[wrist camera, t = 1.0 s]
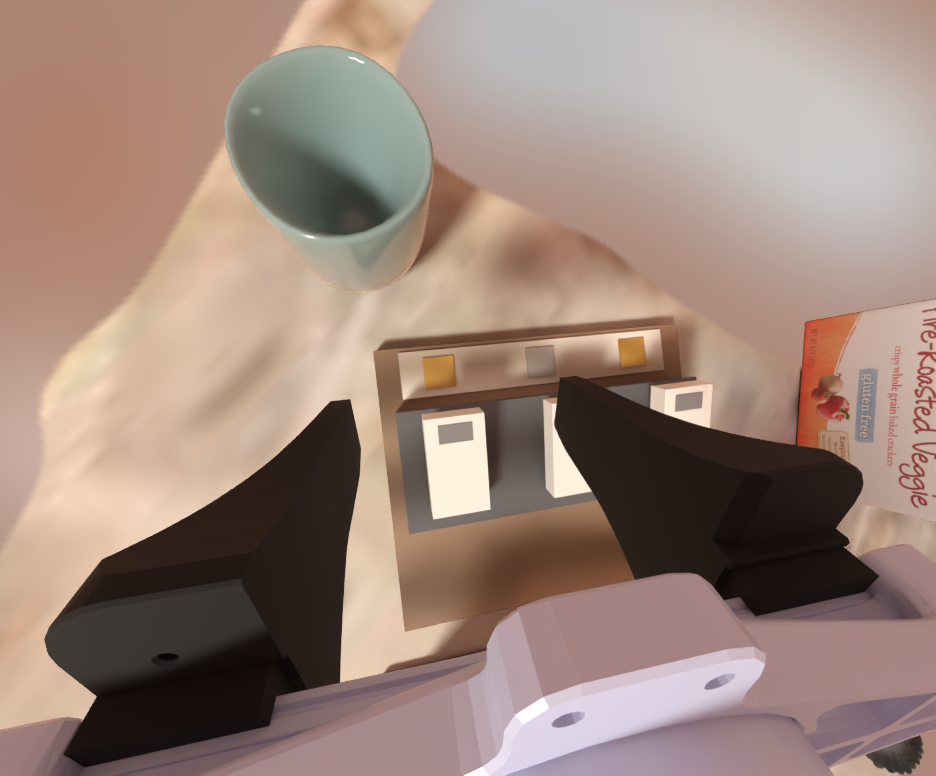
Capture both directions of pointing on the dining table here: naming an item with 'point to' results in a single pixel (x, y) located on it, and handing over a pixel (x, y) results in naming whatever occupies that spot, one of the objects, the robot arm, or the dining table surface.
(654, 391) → the block
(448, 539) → the switch board
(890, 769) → the eagle figurine
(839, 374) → the cracker box
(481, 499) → the rocker
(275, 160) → the cup
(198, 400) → the dining table surface
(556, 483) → the block
